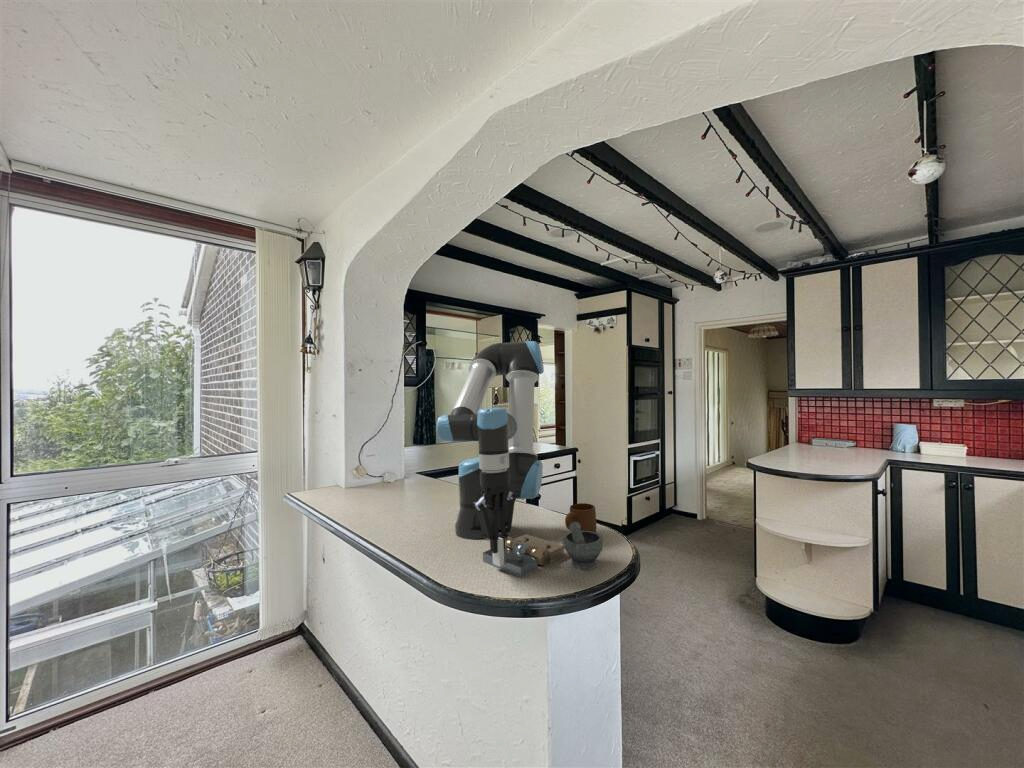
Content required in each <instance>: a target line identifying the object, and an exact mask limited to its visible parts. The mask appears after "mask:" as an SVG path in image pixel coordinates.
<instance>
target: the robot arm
mask: <svg viewBox="0 0 1024 768" xmlns="http://www.w3.org/2000/svg"><path fill="white" fill-rule="evenodd" d="M544 368H545V367H544V361H543V355H542V351H541V347H540V344H539V342H537V341H535V340H534V341H533V340H532V341H531V340H530V341H529V340H528V341H527V340H524V341H514V342H513V341H510V342H497V343H492V344H490V345H488V346H486V347H484V348H483V349H482V350H480V351H479V352H478V353H477V354H476V355H475V356H474V357H473V359H472V360H471V362H470V365H469V367H468V372H469V373H468V375H467V377H466V380H465V381H464V384H463V386H462V389H461V391H460V393H459V395H458V397H457V399H456V402H455V404H454V405H453V408H452V409H451V412H450V414H443V415H440V416H439V417H438V418H437V420H436V428H435V431H436V434H437V437H438V439H439V440H440V441H441V442H451V443H459V442H461V443H462V442H466V443H467V442H478V457H473V458H469V459H465V460H463V461H462V462H460V463H459V465H458V475H457V478H458V492H459V494H458V495H459V510H458V513H457V519H456V523H455V524H454V526H455V527H454V531H455V532H454V533H455V534H456V536H458V537H460V538H464V539H470V540H471V539H472V540H474V539H477V540H478V539H486V540H489V547H490V549H489V550H490V551H491V552H492V557H493V564H494V565H497V566H499V567H501V566H503V565H504V550H505V538H507V537H509V535H508V534H510V533H511V532H512V525H513V516H514V508H515V503H516V500H518V499H520V500H525V499H526V500H527V499H528V500H529V499H536V497H538V496H539V494H540V491H541V488H542V487H541V486H542V482H543V473H544V472H543V465H544V464H543V463H542V461H541V460H538V459H539V458H538V454H537V453H536V452H535V451H534V426H535V425H534V424H535V423H534V422H535V421H534V420H535V418H534V415H535V383H536V382H538V381H539V379H540V375H542V374H544V371H545V370H544ZM498 376H505V379H506V380H507V382H509V385H508V386H509V391H508V392H509V393H508V408H507V409H506V408H504V407H489V408H488V407H486V408H481V407H482V404H483V401H484V399H485V396H486V393H487V391H488V389H489V387H490V383H491V382H492V381H494V379H495V378H496V377H498ZM507 410H508V411H507Z"/></svg>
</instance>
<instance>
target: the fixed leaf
mask: <svg viewBox="0 0 1024 768" xmlns="http://www.w3.org/2000/svg"><path fill="white" fill-rule="evenodd" d="M517 542H522V543H525V544H528V545H530V546H529V547H528V549H527V551H526V555H527V556H530V557H533V558H536V559H537V560H538V566H546V565H547V564H548V563H552V562H554V561H556V560H557V559H560V558H562V557H563V556H565V548H564V544H563V545H561V544H559V543H555V542H553V541H549V540H547V539H546V540H545V539H543V538H540V537H537V536H533V535H531V534H523V535H520V536H518V537H516V538H513V537H510V536H508V537H507V538H505V548H508V549H511V550H513V547H514V545H515V544H516V543H517Z"/></svg>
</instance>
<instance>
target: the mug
mask: <svg viewBox="0 0 1024 768" xmlns="http://www.w3.org/2000/svg"><path fill="white" fill-rule="evenodd" d="M572 522H578V523H579V524H580V526H581V528H580V529H581V531H591V532H595V533H598V532H597V513H596V506H595V505H594V504H590V503H586V502H585V503H583V502H581V503H580V502H579V503H575V504H574V503H573V504H571V505H570V506H569V512H568V513H567V514H566V515H565V518H564V524H565V527H566V528H567V530H569V531H570V528H569V526H570V524H571V523H572Z"/></svg>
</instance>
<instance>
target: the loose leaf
mask: <svg viewBox="0 0 1024 768" xmlns="http://www.w3.org/2000/svg"><path fill="white" fill-rule="evenodd" d="M529 546H530V545H528V544H525V543H522V542H517V543H516V544H515V545H514V547H513V550H511V549H508V548H505V550H504V565H503V566H501V567H499V566H497V565H494V564H493V557H492V552H491V551H490V549H488V550H485V551H483V552H482V562H483V563H485V564H488V565H490V566H492V567H494V568H497V569H500V570H502V571H504V572H507V573H510V574H512V575H514V576H516V577H519V578H523V577H526V576H527V575H529V574H531V573H533V572H535V571H537V570H539V564H538V560H537V559H536V558H533V557H530V556H527V555H526V551H527V549H528V547H529Z"/></svg>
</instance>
